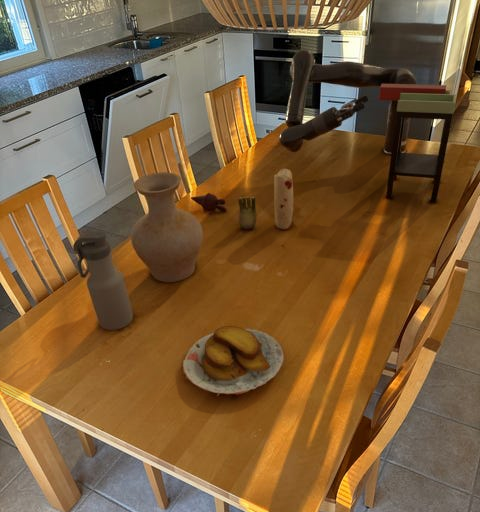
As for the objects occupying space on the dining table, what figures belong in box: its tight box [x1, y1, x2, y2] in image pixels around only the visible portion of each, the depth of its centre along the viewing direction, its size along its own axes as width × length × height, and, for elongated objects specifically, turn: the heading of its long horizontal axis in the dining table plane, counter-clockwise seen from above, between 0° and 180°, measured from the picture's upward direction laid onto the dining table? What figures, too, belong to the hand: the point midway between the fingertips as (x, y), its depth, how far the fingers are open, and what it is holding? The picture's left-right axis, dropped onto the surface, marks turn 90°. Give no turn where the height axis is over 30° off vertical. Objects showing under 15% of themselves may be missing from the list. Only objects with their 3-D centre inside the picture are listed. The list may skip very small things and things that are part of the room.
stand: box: [385, 111, 454, 204], centre depth 187 cm, size 19×18×32 cm
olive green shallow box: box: [397, 93, 457, 115], centre depth 172 cm, size 9×18×4 cm, turn 70°
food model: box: [273, 168, 294, 230], centre depth 176 cm, size 10×7×20 cm
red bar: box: [378, 84, 451, 101], centre depth 180 cm, size 4×24×4 cm, turn 70°
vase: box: [130, 171, 204, 283], centre depth 155 cm, size 22×22×30 cm
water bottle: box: [72, 230, 134, 331], centre depth 137 cm, size 10×10×28 cm
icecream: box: [190, 192, 228, 213], centre depth 193 cm, size 7×7×15 cm
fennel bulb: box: [237, 196, 258, 230], centre depth 178 cm, size 6×5×12 cm
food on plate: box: [182, 325, 286, 397], centre depth 126 cm, size 26×25×7 cm
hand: (365, 101), depth 187 cm, fingers open, 8 cm apart
